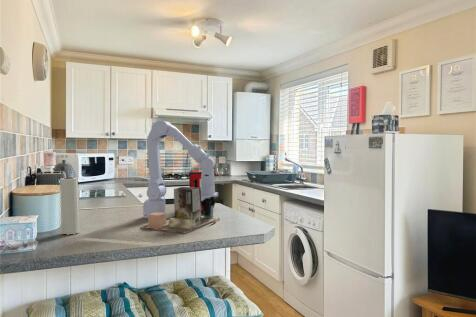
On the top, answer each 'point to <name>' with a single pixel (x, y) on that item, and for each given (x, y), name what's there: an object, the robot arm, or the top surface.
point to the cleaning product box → (196, 181)
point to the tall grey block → (69, 205)
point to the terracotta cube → (156, 220)
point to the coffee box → (188, 204)
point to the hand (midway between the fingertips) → (208, 214)
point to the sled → (189, 221)
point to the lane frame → (175, 231)
